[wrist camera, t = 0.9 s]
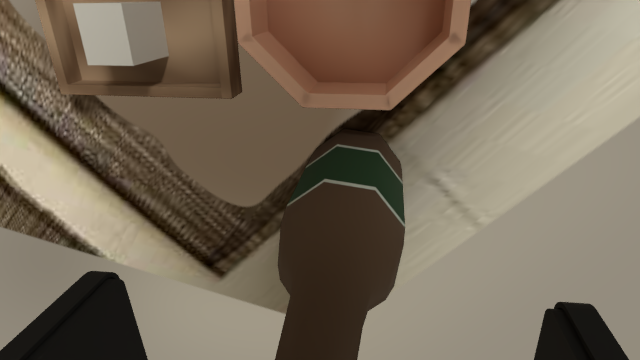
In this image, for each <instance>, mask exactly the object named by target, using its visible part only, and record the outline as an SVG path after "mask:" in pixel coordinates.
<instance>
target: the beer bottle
mask: <svg viewBox="0 0 640 360" xmlns="http://www.w3.org/2000/svg"><path fill="white" fill-rule="evenodd" d="M404 234H405V218H404V201H403V184H402V169H401V164H400V161H399V159H398V158H397V157H396V155H395V154H394V153H393V151H392V150H391V149H390V147H389V146H388V145H387V144H386V142H385V141H384V140H383V138H382V137H381V136H380V134H376V133H369V132H362V131H356V130H349V129H343V130H341V131H340V132H339V133H337V134H336V135H334V136H333V137H332V138H330V139H329V140H328V141H326V142H325V143H323V144H322V145H321V146H319V147H318V148H317V149H316V150H315V151H314V153H313V154H312V156H311V158H310V160H309V162H308V164H307V166H306V168H305V170H304V172H303V174H302V176H301V178H300V180H299V182H298V184H297V186H296V188H295V191H294V193H293V195H292V197H291V199H290V201H289V203H288V205H287V207H286V210H285V213H284V216H283V219H282V222H281V230H280V243H279V257H278V268H279V276H280V280H281V282H282V283H283V285H284V287H285V288H286V290H287V291H288V293H289V294H290V300H289V304H288V308H287V313H286V317H285V321H284V325H283V329H282V333H281V338H280V341H279V346H278V350H277V354H276V358H275V360H357V357H358V351H359V345H360V339H361V333H362V327H363V324H364V321H365V318H366V315H367V312H368V311H369V310H370V309H372V308H374V307H375V306H377V305H378V304H380V303H381V302H383V301H384V300H386V298H387V296H388V295H389V293H390V292H391V290H392V288H393V287H394V284H395V279H396V275H397V271H398V266H399V262H400V258H401V254H402V249H403V245H404Z"/></svg>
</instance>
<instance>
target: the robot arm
mask: <svg viewBox="0 0 640 360" xmlns="http://www.w3.org/2000/svg"><path fill="white" fill-rule="evenodd" d="M0 360H148V359H147V356H146V352H145V349H144V346H143V343H142V339H141V336H140V333H139V329H138V326H137V323H136V320H135V316H134V313H133V310H132V306H131V303H130V300H129V296H128V293H127V290H126V287H125V284H124V282H123V281H122V280H121V279H120V278H119V276H118V275H117V274H116V273H113V272H99V271H90V272H87V273H86V274H85V275H83V276H82V277H81V278H80V279H79V280H78V281H77V282H75V283H74V284H73V285H72V286H71V287H70V288H69V289H68V290H67V291H66V292H64V294H62V295H61V296H60V297H59V298H58V299H57V300H56V301H55V302H53V303H52V304H51V305H50V306H49V307H48V308H47V309H46V310H45V311H44V312H42V313H41V314H40V315H39V316H38V317H37V318H36V319H35V320H34V321H33V322H31V323H30V324H29V325H28V326H27V327H26V328H25V329H24V330H23V331H22V332H20V333H19V335H17V336H16V337H15V338H14V339H13V340H12V341H11V342H9V343H8V344H7V345H6V346H5V347H4V348H3V349H2V350H1V351H0ZM534 360H629V359H628V357H627V356H626V355H625V353H624V351H623V350H622V348H621V347H620V345H619V344H618V342H617V341H616V339H615V338H614V336H613V334H612V333H611V331H610V330H609V328H608V327H607V325H606V324H605V322H604V321H603V319H602V318H601V316H600V315H599V313H598V312H597V310H596V309H595V308H594V306H592V305H591V304H584V303H568V302H558V303H557V304H556V305H555V307H554V309H547V310H546V311H545V314H544V319H543V323H542V328H541V332H540V336H539V340H538V345H537V349H536V353H535V358H534Z"/></svg>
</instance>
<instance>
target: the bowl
mask: <svg viewBox="0 0 640 360" xmlns="http://www.w3.org/2000/svg"><path fill="white" fill-rule="evenodd" d="M234 4H235V15H236V25H237V36H238V42H239V44H240V45H241V46H242V47H243V48H244V49H245V50H246V51H247V52H248V53H249V54H250V55H251V56H252V57H253V58H254V59H255V60H256V61H257V62H258V63H259V64H260V65H261V66H262V67H263V68H264V69H265V70H266V71H267V72H268V73H269V74H270V75H271V76H272V77H273V78H274V79H275V80H276V81H277V82H278V83H279V84H280V85H281V86H282V87H283V88H284V89H285V90H286V91H287V92H288V93H289V94H290V95H291V96H292V97H293V98H294V99H295V100H296V101H297V102H298V103H299V104H300V105H301V106H302V107H303V108H335V109H366V110H391V109H392V108H394V107H395V106H396V105H397V104H398V103H399V102H400V101H402V100H403V99H404V98H405V97H406V96H407V95H408V94H409V93H411V92H412V91H413V90H414V89H415V88H416V87H417V86H418V85H420V84H421V83H422V82H423V81H424V80H425V79H426V78H428V77H429V76H430V75H431V74H432V73H433V72H434V71H435V70H437V69H438V68H439V67H440V66H441V65H442V64H443V63H444V62H446V61H447V60H448V59H449V58H450V57H451V56H452V55H454V54H455V53H456V52H457V51H458V50H459V49H460V48H461V47H463V46H464V45H465V42H466V35H467V27H468V20H469V12H470V4H471V0H234Z"/></svg>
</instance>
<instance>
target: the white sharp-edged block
mask: <svg viewBox="0 0 640 360" xmlns="http://www.w3.org/2000/svg"><path fill="white" fill-rule="evenodd" d="M73 6H74V10H75V14H76V18H77V22H78V26H79V30H80V35H81V39H82V43H83V47H84V51H85V55H86V59H87V63H88V65H111V66H135V65H138V64H142V63H145V62H149V61H153V60H156V59H160V58H163V57H167V56H169V53H168V46H167V40H166V34H165V28H164V22H163V15H162V9H161V3H160V2H103V3H73Z"/></svg>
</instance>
